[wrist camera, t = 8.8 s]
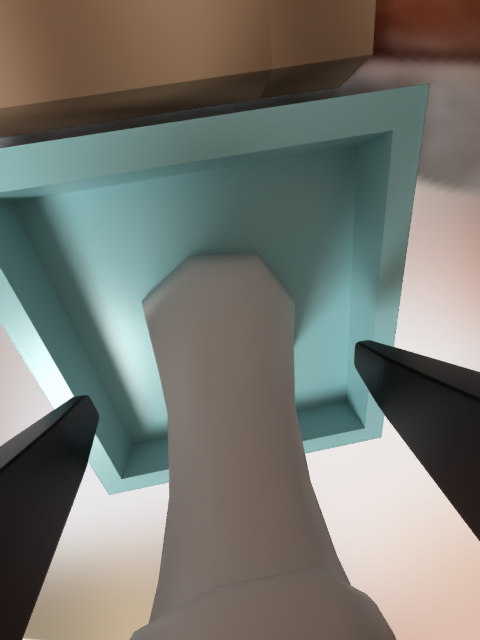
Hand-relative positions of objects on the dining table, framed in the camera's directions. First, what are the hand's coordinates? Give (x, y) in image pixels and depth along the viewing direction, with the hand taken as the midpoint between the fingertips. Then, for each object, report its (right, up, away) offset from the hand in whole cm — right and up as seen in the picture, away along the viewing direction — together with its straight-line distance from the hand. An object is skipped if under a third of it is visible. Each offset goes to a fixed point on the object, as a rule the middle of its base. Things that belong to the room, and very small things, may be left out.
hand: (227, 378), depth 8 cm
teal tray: (0, +2, +4) cm, 4 cm away
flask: (0, +2, +4) cm, 4 cm away
